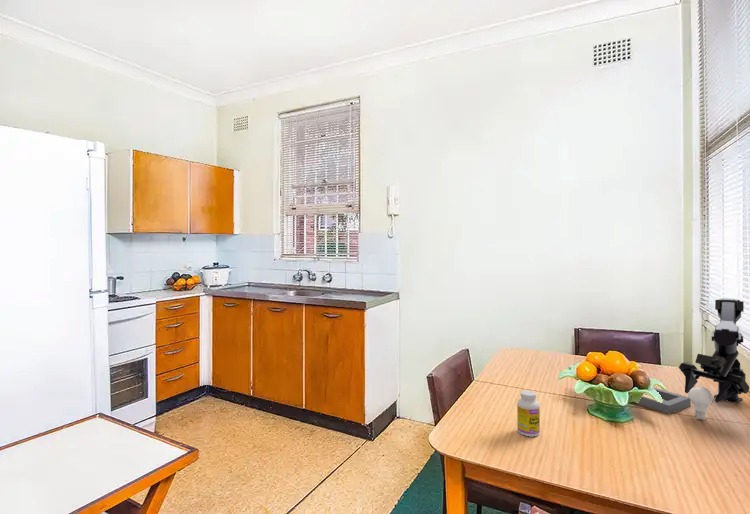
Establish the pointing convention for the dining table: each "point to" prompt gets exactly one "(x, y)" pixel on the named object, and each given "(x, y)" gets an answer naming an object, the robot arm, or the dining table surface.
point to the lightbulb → (700, 400)
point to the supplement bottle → (528, 414)
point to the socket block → (666, 402)
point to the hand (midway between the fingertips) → (700, 397)
